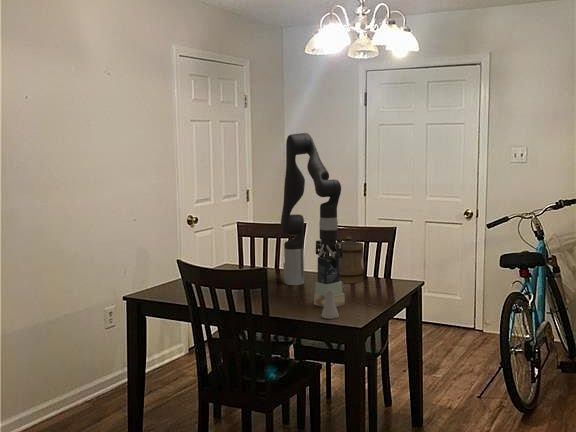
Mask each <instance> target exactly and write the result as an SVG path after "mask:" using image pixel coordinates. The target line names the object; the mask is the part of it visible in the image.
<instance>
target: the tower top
mask: <svg viewBox="0 0 576 432" xmlns="http://www.w3.org/2000/svg"><path fill="white" fill-rule="evenodd" d="M314 284H315V285H314V287H315V288H314V293H315V294H319V295H323V296H326V295H327V294H326V291H333V292H334V293H333V296H335V295H339V294H342V293H343V283H342V282H333V283H327V284H323V283H320V282H318V280H317V281H315V283H314Z"/></svg>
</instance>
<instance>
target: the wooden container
mask: <svg viewBox="0 0 576 432" xmlns="http://www.w3.org/2000/svg"><path fill="white" fill-rule="evenodd" d="M352 239H353V237H352V236H351V235H346V236H345V237H344V241H336V243H337V244H342V253H343V258H340V282H342V284H358V283H362V282H363V281H364V271H365V270H364V243H363V242H360V241H359V242H358V241H352ZM334 252H335V251H334ZM339 255H340V253H339ZM335 256H336V255H335Z"/></svg>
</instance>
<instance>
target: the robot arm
mask: <svg viewBox="0 0 576 432" xmlns="http://www.w3.org/2000/svg"><path fill="white" fill-rule="evenodd" d="M285 141H286V143H285V144H286V145H285V151H286V152H285V153H286V155H285V156H286V157H285V159H286V160H285V161H286V164H285V175H284V185H283V186H284V187H283V205H282V212H281V217H280V231H281V233H282V234H283V235H295V236H294V237H292V238H291V239H288V240H287V241H284V245H283V247H284V248H283V249H284V255H283V256H284V262H283V283H284V284H285V285H288V286H301V285H304V284H305V259H304V258H305V256H304V255H305V253H304V251H305V247H304V244H305V243H304V239H305V238H304V237H305V235H304V233H305V219H304V216H303V215H302V214H291V213H292V210H293V209H294V207H295V206H296V205H297V204H298V202H299V201H300V200H301V198H302V197H303V195H304V193H305V186H306V185H305V184H306V181H305V180H306V179H305V177H304V175H303V173H302V171H301V170H300V168H299V166H298V163H297V161H296V157H297V155H306V154H307V155H308V156H309V157H308V160H307V161H308V162H307V165H306V167H307V172H308V175H310V177H311V179H312V180H313V184H314V190H315V194H316V195H317V196H318V197H321V198H329V199H328V200H327V201H325V202H322V203H320V206H319V239H318V240H315V255H317V256H318V257H324V256H326V253H328V254H330V255H332V257H333V259H334V260H333V268H334V269H336V268H338V267H339V259H340V258H343V253H342V244H337V243H336V242H337V240H338V239H339V231H338V230H339V226H338V225H339V223H338V204H339V201H340V196H341V192H342V185H341V183H340V181H339V180H338V179H330V172H329V171H328V170H327V168H326V166H325V165H324V163H323V162H322V160H321V158H320V155H319V151H318V150H317V147H316V144H315V142H314V140H313V137H312V136H311V135H310V133H306V132H301V133H291V134H289V135H288V136H287V138H286V140H285ZM334 251H335V252H334ZM339 253H340V255H339ZM335 255H336V256H335Z"/></svg>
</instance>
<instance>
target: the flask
mask: <svg viewBox="0 0 576 432" xmlns="http://www.w3.org/2000/svg"><path fill="white" fill-rule="evenodd" d="M333 293H334V292H333V291H326V294H327V295H326V302H325V306H324V307H323V308H322V312H321V315H320V317H321V318H322V319H329V320H331V319H339V317H340V315H339V312H338V307H336V306H335V303H334V298H333Z"/></svg>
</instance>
